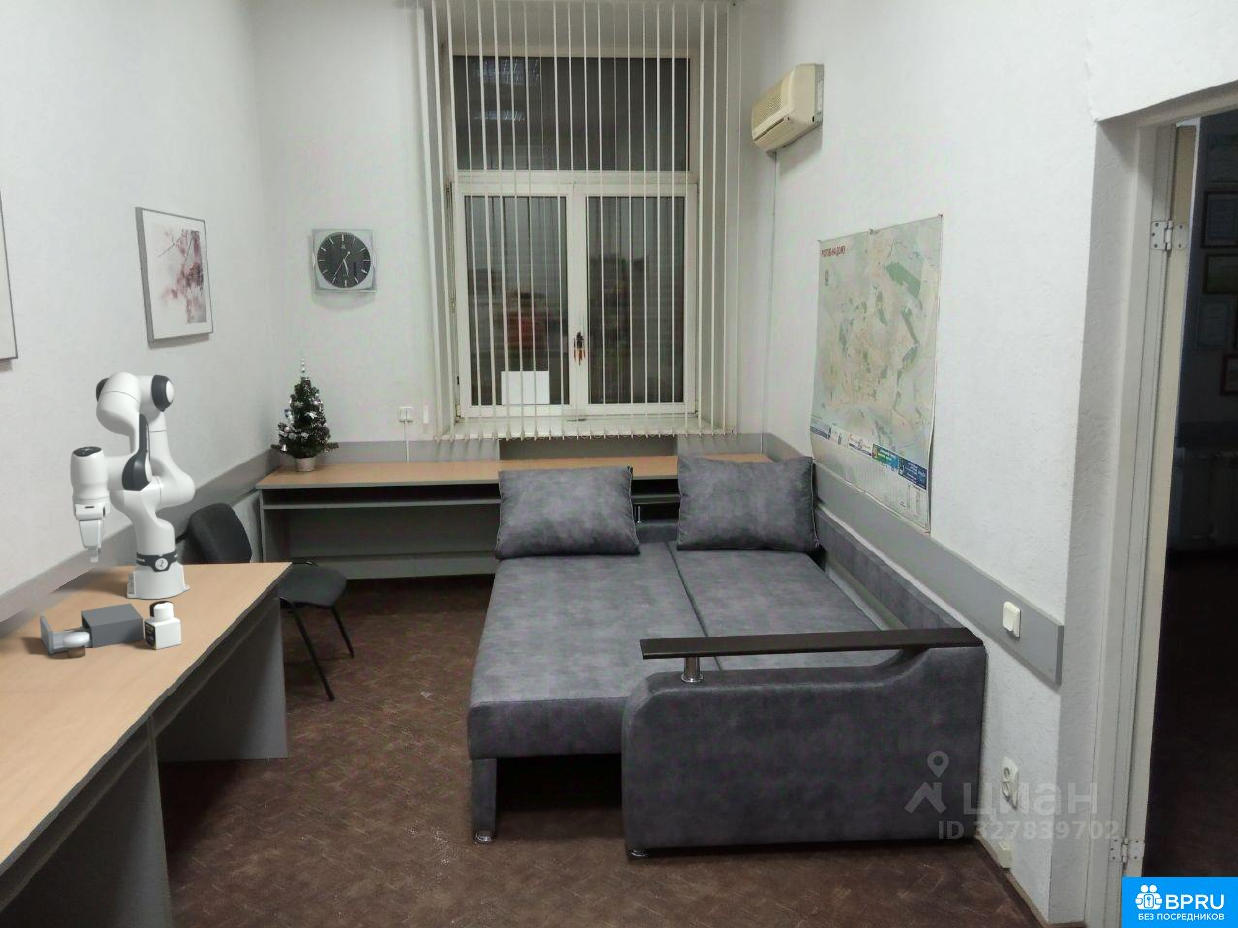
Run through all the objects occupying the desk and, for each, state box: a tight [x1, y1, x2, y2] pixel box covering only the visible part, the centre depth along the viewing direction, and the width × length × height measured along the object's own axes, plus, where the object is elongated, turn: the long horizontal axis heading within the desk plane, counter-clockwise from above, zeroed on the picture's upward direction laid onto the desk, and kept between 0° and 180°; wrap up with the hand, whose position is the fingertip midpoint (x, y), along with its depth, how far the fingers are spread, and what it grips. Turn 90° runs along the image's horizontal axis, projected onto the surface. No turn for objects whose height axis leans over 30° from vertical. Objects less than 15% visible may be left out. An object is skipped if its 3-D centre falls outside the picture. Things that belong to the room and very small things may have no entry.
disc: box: [62, 632, 90, 647], centre depth 267 cm, size 6×6×2 cm
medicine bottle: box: [143, 600, 182, 651], centre depth 277 cm, size 7×7×12 cm
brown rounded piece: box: [67, 645, 86, 659], centre depth 267 cm, size 4×4×4 cm
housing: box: [80, 603, 145, 649], centre depth 283 cm, size 16×13×6 cm
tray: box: [39, 614, 92, 656], centre depth 277 cm, size 16×13×6 cm
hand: (96, 558), depth 270 cm, fingers open, 8 cm apart
